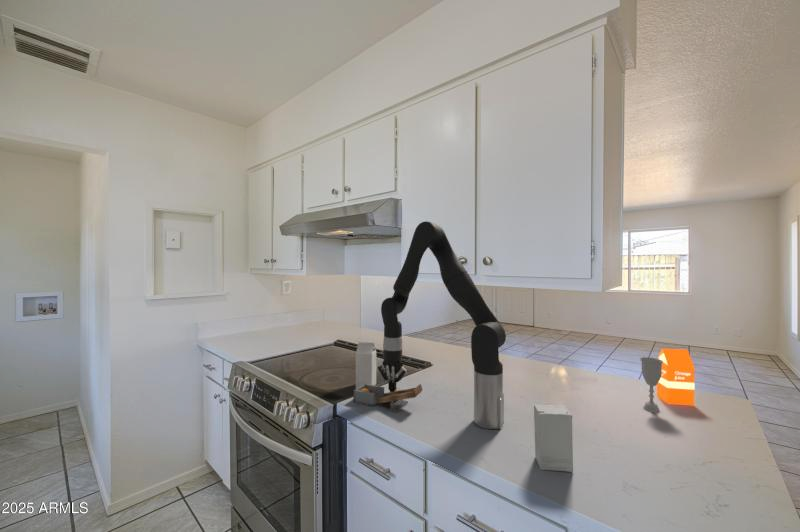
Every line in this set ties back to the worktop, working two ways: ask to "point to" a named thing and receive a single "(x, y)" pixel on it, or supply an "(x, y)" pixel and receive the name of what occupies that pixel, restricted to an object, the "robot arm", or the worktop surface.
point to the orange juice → (676, 377)
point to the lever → (400, 394)
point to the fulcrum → (396, 405)
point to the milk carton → (365, 364)
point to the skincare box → (553, 437)
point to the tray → (368, 394)
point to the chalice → (651, 379)
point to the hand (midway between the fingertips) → (392, 391)
